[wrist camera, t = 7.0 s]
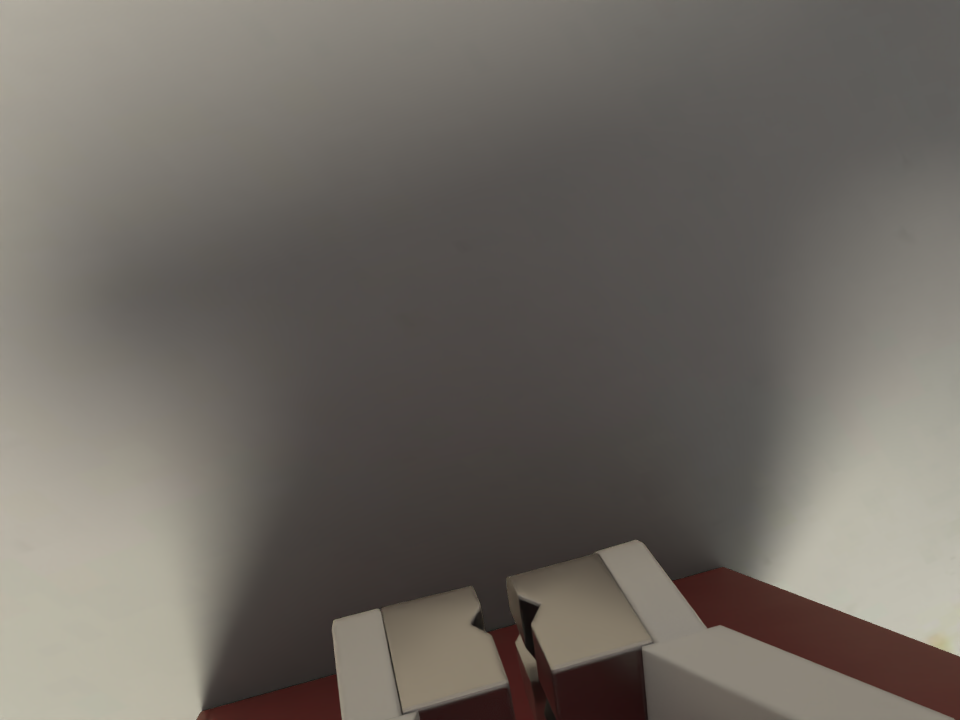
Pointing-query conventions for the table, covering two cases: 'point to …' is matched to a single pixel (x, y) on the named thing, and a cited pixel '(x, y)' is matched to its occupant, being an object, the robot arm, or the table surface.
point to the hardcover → (717, 601)
